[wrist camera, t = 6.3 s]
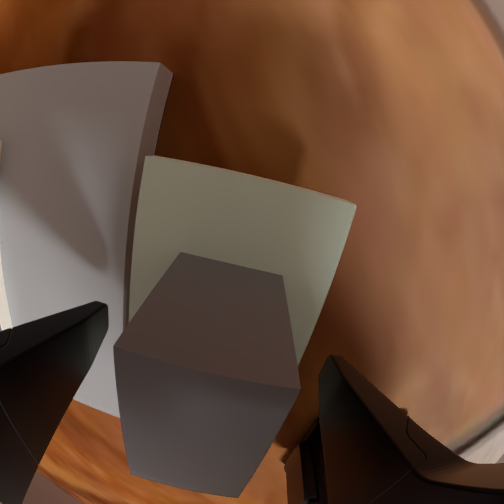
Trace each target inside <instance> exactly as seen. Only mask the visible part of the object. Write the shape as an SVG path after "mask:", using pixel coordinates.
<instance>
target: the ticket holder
mask: <svg viewBox="0 0 504 504" xmlns="http://www.w3.org/2000/svg"><path fill="white" fill-rule="evenodd" d="M172 77H173V73H172V72H171V71H170V70H169V69H167V68H166V67H165V66H164V65H163V64H162V63H160V62H140V61H103V62H82V63H69V64H59V65H51V66H43V67H36V68H30V69H24V70H19V71H13V72H9V73H4V74H0V331H2V330H5V329H8V328H12V327H15V326H18V325H21V324H24V323H27V322H31V321H34V320H37V319H40V318H43V317H46V316H49V315H53V314H56V313H59V312H62V311H65V310H68V309H71V308H74V307H78V306H81V305H84V304H87V303H90V302H93V301H100V302H103V303H106V304H107V305H108V315H109V327H108V331H107V334H106V336H105V338H104V340H103V342H102V344H101V346H100V349H99V351H98V353H97V355H96V357H95V360H94V362H93V364H92V366H91V368H90V370H89V372H88V373H87V375H86V377H85V378H84V380H83V382H82V384H81V385H80V387H79V389H78V391H77V392H76V394H75V396H74V398H73V399H74V400H77V401H79V402H81V403H83V404H86V405H88V406H90V407H93V408H95V409H98V410H100V411H103V412H105V413H108V414H111V415H113V416H116V417H119V418H120V413H119V406H118V398H117V389H116V379H115V367H114V353H113V345H114V344H115V343H116V341H117V340H118V338H119V337H120V335H121V334H122V332H123V331H124V329H125V328H126V326H127V325H128V323H129V299H130V279H131V264H132V251H133V241H134V231H135V222H136V214H137V206H138V199H139V192H140V185H141V179H142V173H143V167H144V161H145V156H154V153H155V148H156V143H157V138H158V134H159V129H160V125H161V120H162V116H163V112H164V108H165V103H166V99H167V96H168V92H169V88H170V84H171V81H172Z"/></svg>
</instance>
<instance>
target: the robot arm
mask: <svg viewBox="0 0 504 504" xmlns="http://www.w3.org/2000/svg"><path fill="white" fill-rule="evenodd" d="M108 327H109V315H108V305H107V304H106V303H103V302H100V301H93V302H90V303H87V304H84V305H81V306H78V307H74V308H71V309H68V310H65V311H62V312H59V313H56V314H53V315H49V316H46V317H43V318H40V319H37V320H34V321H31V322H27V323H24V324H21V325H18V326H15V327H12V328H8V329H5V330H2V331H0V503H1V504H22V502H23V500H24V497H25V495H26V493H27V490H28V488H29V486H30V483H31V481H32V479H33V477H34V474H35V472H36V470H37V468H38V465H39V463H40V461H41V459H42V457H43V455H44V453H45V451H46V449H47V447H48V445H49V443H50V441H51V439H52V437H53V435H54V433H55V431H56V429H57V427H58V425H59V423H60V421H61V419H62V418H63V416H64V414H65V412H66V410H67V408H68V407H69V405H70V403H71V401H72V399H73V398H74V396H75V394H76V392H77V391H78V389H79V387H80V385H81V384H82V382H83V380H84V378H85V377H86V375H87V373H88V372H89V370H90V368H91V366H92V364H93V362H94V360H95V357H96V355H97V353H98V351H99V349H100V346H101V344H102V342H103V340H104V338H105V336H106V334H107V331H108ZM318 382H319V417H318V418H317V419H316V420H315V422H314V423H313V425H312V426H311V428H310V429H309V431H308V432H307V434H306V435H305V437H304V438H303V440H302V441H301V442H299V443H298V444H297V446H296V447H295V449H294V450H293V452H292V453H291V455H290V456H289V457H288V459H287V460H286V464H285V466H284V470H285V472H286V478H287V497H288V504H504V463H499V464H476V463H472V462H469V461H466V460H464V459H463V458H461V457H460V456H458V455H457V454H456V453H454V452H453V451H451V450H450V449H449V448H447V447H446V446H444V445H443V444H442V443H440V442H439V441H437V440H436V439H435V438H434V437H432V436H431V435H430V434H428V433H427V432H426V431H425V430H423V429H422V428H421V427H420V426H419V425H417V424H416V423H415V422H414V421H413V420H412V419H411V418H410V417H409V416H407V415H406V414H405V413H404V412H403V411H402V410H400V409H399V408H398V407H397V406H396V405H395V404H394V403H393V402H391V401H390V400H389V399H388V398H387V397H386V396H385V395H384V394H383V393H381V392H380V391H379V390H378V389H377V388H376V387H375V386H374V385H373V384H371V383H370V382H369V381H368V380H367V379H366V378H365V377H364V376H363V375H361V374H360V373H359V372H358V371H357V370H356V369H355V368H354V367H353V366H352V365H350V364H349V363H348V362H347V361H346V360H345V359H344V358H343V357H342V356H337V355H330V356H328V358H327V359H326V361H325V363H324V365H323V368H322V370H321V372H320V374H319V379H318Z"/></svg>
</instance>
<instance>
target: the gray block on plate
mask: <svg viewBox="0 0 504 504" xmlns="http://www.w3.org/2000/svg"><path fill="white" fill-rule="evenodd" d="M356 207H357V205H355V204H354V203H352V202H350V201H348V200H345V199H341V198H338V197H335V196H331V195H328V194H324V193H321V192H317V191H313V190H310V189H306V188H302V187H299V186H295V185H291V184H287V183H283V182H279V181H275V180H271V179H267V178H263V177H259V176H255V175H251V174H246V173H242V172H237V171H233V170H228V169H224V168H219V167H214V166H209V165H204V164H199V163H194V162H189V161H184V160H178V159H173V158H167V157H161V156H145V161H144V167H143V173H142V179H141V185H140V192H139V199H138V206H137V214H136V222H135V231H134V241H133V251H132V264H131V279H130V299H129V323H128V325H127V326H126V328H125V329H124V331H123V332H122V334H121V335H120V337H119V338H118V340H117V341H116V343H115V344H114V345H113V353H114V367H115V379H116V389H117V398H118V406H119V413H120V420H121V427H122V433H123V439H124V444H125V450H126V455H127V460H128V464H129V469H130V473H131V474H132V475H135V476H138V477H141V478H144V479H148V480H151V481H155V482H158V483H162V484H166V485H170V486H174V487H178V488H182V489H187V490H191V491H196V492H201V493H207V494H213V495H219V496H226V497H234V498H238V497H239V496H240V494H241V493H242V491H243V490H244V488H245V487H246V485H247V484H248V482H249V480H250V479H251V477H252V476H253V474H254V473H255V471H256V469H257V468H258V466H259V464H260V463H261V461H262V460H263V458H264V456H265V454H266V453H267V451H268V449H269V448H270V446H271V444H272V443H273V441H274V439H275V437H276V436H277V434H278V432H279V430H280V428H281V427H282V425H283V423H284V421H285V419H286V417H287V415H288V414H289V412H290V410H291V408H292V406H293V404H294V402H295V400H296V398H297V396H298V394H299V392H300V390H301V385H300V378H299V372H298V365H299V363H300V361H301V358H302V356H303V354H304V351H305V349H306V347H307V344H308V342H309V339H310V337H311V335H312V332H313V330H314V327H315V325H316V322H317V320H318V317H319V315H320V312H321V310H322V307H323V304H324V302H325V299H326V296H327V294H328V291H329V288H330V286H331V283H332V280H333V277H334V275H335V272H336V269H337V266H338V263H339V260H340V257H341V254H342V251H343V248H344V245H345V242H346V239H347V236H348V233H349V230H350V227H351V224H352V220H353V217H354V214H355V211H356Z"/></svg>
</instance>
